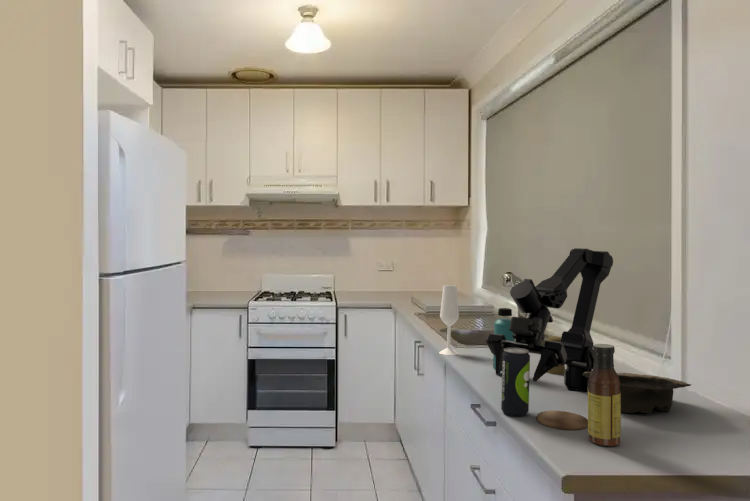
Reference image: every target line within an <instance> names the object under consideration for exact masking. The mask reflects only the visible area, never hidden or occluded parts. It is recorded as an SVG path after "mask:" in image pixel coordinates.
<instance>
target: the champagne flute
mask: <svg viewBox="0 0 750 501" xmlns="http://www.w3.org/2000/svg"><path fill="white" fill-rule="evenodd" d="M441 294H442V296H441V305H440V309H439V310H440V312H439V318H440V320H441V322H442V323H444V324H445V325H446V326H447V332H446V334H447V335H446V336H447V338H446V348H443V349H442V350H441V351H439V352H438V353H439V354H440V355H445V356H456V355H458V354H459V353H458V351H456V350H454V349H453V348H451V340H452V338H451V337H452V336H451V335H452V333H451V332H452V331H451V330H452V329H451V328H452V326H454V324H456V323H457V321H458V320H459V319H460V314H459V300H458V299H459V297H458V286H457V285H454V284H453V285H452V284H451V285H450V284H444V285H443V286H442V293H441Z"/></svg>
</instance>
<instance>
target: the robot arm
mask: <svg viewBox="0 0 750 501" xmlns="http://www.w3.org/2000/svg"><path fill="white" fill-rule="evenodd" d="M613 264H614V259H613V256H612V255H611V253H610V252H608V251H602V250H592V249H589V248H581V247H579V248H578V247H575V248H571V250H570V251H569V255H568V256H567V257H566V258H565V259H564V261H563V262H562V263H561V265H560V266H559V267H558V268H557V269H556V271H555V272H554V273H553V274H552V276H550V277H548V278H546V279H544V280H541V282H539V283H538V284H536V286H535V283H534V281H533V279H532V278H531V279H529V278H524V279H523V281H520V282H519V283H516V284H515V285H514V286H512V287H511V289H510V291H509V295H510V296H511V298H512V300H513V301H514V303H515V305H516V307H517V308H518V309H519V311H520V312H521V313H523V314H524V315H525V316H524V317H519V316H511V317H510V318H511V319H510V320H511V323H510V327H509V330H510V331H512V332H513V335H512V336H513V338H514V339H515V342H514V341H507V340H506V338H505V335H501V334H494V332H492V333H489V334H488V335H487V337H486V339H485V342H486V344H487V346H488V349H489V351H490V353H491V354H492V355H493V354H494V355H495V358H496V370H495V375H496V376H499V375H500V373H501V372H502V371H501V370H502V362H503V352H504V349H505V348H523V349H527V350H529V354H535V355H540V358H539V360H538V364H537V365H536V369H535V371H534V373H533V375H532V381H533V382H535V383H536V382H537V381H538V380H539V379H541V378H542V377H543V376H544V375H545V374H546V372H548V371H549V370H551V369H552V368H553V367H558V366H559V365H564V364H565V366H566V367H565V370H564V374H563V384H564V385H565V387H566V389H567V390H568V391H582V392H583V391H584V392H588V382H589V378H588V377H585V376H582V374H583V373H584V372H590V371H592V370H593V367H594V352H593V345H595V343H594V341H593V338H592V335H591V329H592V324H593V319H594V315H595V311H596V306H597V300H598V297H599V293H600V288H601V284H602V283H603V281H605V279H607V278H608V277H609V275H610V273H611V269H612V267H613ZM579 274H580V276H581V278H582V279H581V280H582V281H581V284H580V288H579V289H580V290H579V294H578V296H577V301H576V307H575V310H574V315H573V319H572V324H571V327H570V328H569V329H568V330H567V331H566V330H563V332H562V333H561V336H560V337H561V341H560V342H555V341H548V339H547V340H545V338H546V336H545V332H546V329H547V326H548V323H553V321H554V318H553V316H552V315H551V314H552V313H551V311H550V309H561V308H562V306H563V305H564V303H565V301H566V300H567V298H568V291H567V290H568V288H569V287H570V286H571V284H572V283H573V282H574V281H575V279H576V278H577V277H578V275H579ZM542 341H545V342H544V344H543V345H541V343H542Z"/></svg>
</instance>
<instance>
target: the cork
mask: <svg viewBox="0 0 750 501" xmlns="http://www.w3.org/2000/svg"><path fill="white" fill-rule="evenodd" d="M561 337H562V336H556V335H555V336H549V337H548V338H547V340H548V341H555V342H560V341H561ZM565 366H566V364H564V365H559V366H558V367H553V368H552V369H551V370H549V371H548V372H546V373H547V374H549V375H550V374H551V375H564V370H565V369H566V367H565ZM546 373H545V374H546Z"/></svg>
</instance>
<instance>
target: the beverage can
mask: <svg viewBox="0 0 750 501" xmlns="http://www.w3.org/2000/svg"><path fill="white" fill-rule="evenodd" d="M530 369H531V355H530V353H529V350H527V349H523V348H505V349H504V352H503V362H502V371H501V372H502V374H501V402H500V403H501V406H500V407H501V411H502V412H503V414H504V415H506V416H509V417H515V418H520V417H525V416H526V415H527V414H528V413H529V409H530V408H529V407H530V405H529V403H530V402H529V401H530V375H531V374H530V373H531V372H530V371H531V370H530Z"/></svg>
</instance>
